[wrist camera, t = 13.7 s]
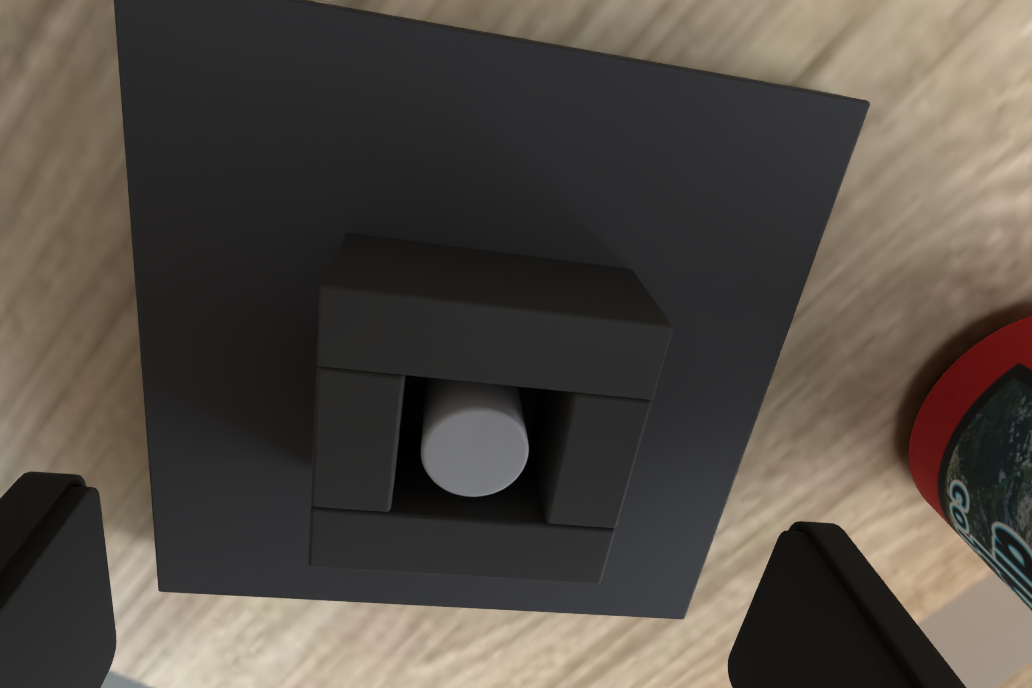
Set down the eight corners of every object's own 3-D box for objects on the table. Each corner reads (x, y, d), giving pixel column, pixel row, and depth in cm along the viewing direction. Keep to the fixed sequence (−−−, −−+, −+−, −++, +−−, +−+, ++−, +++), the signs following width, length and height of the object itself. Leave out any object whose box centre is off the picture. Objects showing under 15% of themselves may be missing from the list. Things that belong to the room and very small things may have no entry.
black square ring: (331, 476, 16) (306, 569, 13) (345, 231, 14) (319, 284, 11) (577, 495, 17) (601, 586, 14) (633, 269, 14) (675, 326, 12)
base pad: (178, 550, 19) (103, 699, 14) (145, -29, 13) (3, -49, 9) (669, 580, 21) (723, 718, 17) (834, 94, 15) (978, 122, 11)
